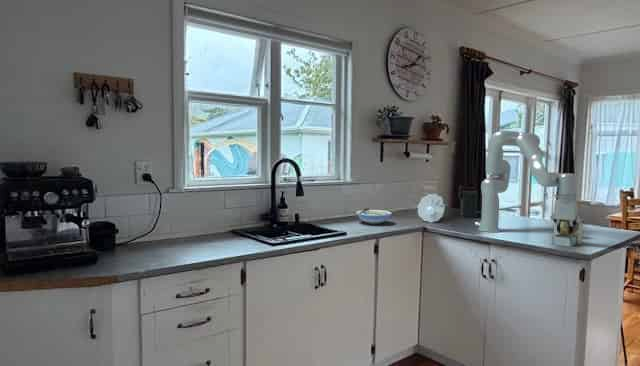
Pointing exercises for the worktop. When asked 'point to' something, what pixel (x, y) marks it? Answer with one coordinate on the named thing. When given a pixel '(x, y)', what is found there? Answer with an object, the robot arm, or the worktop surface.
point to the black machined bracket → (468, 202)
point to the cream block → (570, 240)
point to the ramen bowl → (373, 216)
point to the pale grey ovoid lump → (431, 208)
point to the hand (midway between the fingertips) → (564, 232)
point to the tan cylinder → (564, 228)
